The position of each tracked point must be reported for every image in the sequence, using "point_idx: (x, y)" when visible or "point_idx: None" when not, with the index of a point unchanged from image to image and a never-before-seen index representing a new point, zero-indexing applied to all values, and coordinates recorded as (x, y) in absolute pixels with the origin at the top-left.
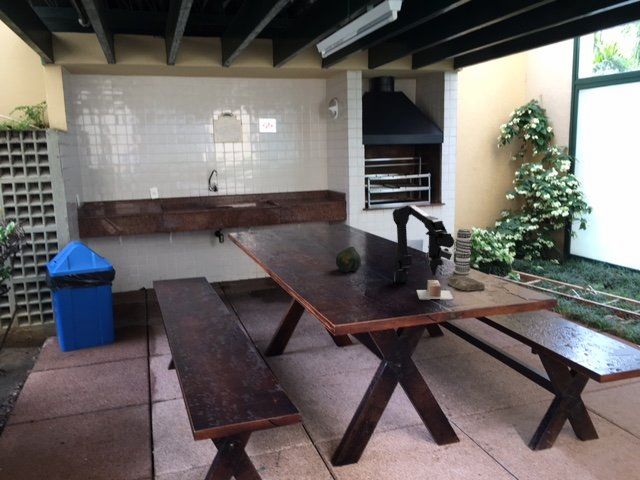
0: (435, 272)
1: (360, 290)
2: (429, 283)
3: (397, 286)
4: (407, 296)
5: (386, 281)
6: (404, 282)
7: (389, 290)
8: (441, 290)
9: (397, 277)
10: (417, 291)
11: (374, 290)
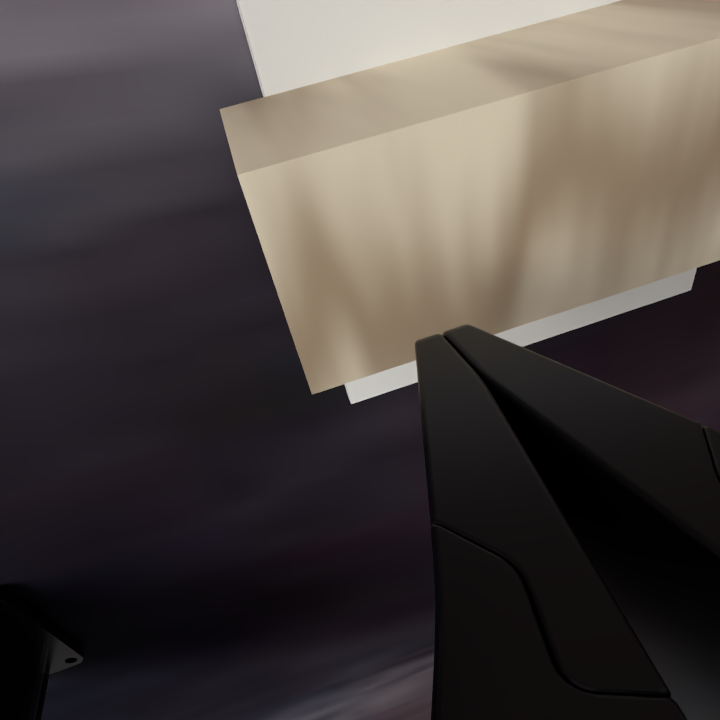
0: (558, 368)
1: (425, 671)
2: (583, 301)
3: (212, 588)
4: None
5: (66, 702)
6: (22, 607)
7: (383, 576)
8: (245, 6)
9: (36, 712)
10: (416, 379)
11: (408, 631)
